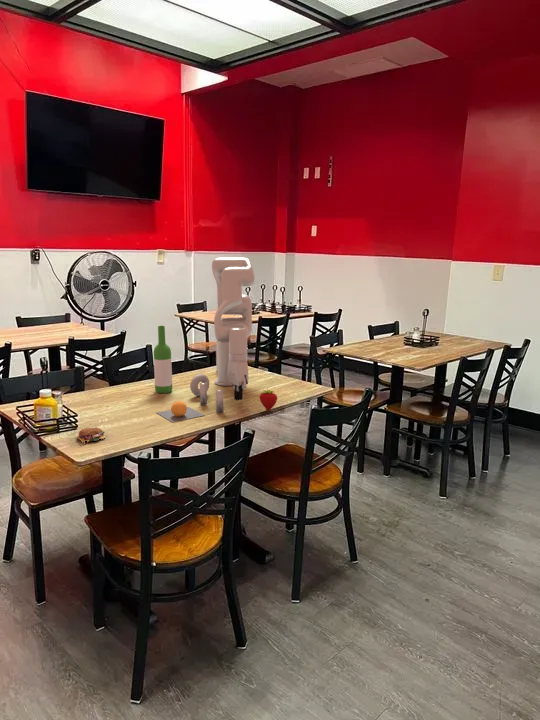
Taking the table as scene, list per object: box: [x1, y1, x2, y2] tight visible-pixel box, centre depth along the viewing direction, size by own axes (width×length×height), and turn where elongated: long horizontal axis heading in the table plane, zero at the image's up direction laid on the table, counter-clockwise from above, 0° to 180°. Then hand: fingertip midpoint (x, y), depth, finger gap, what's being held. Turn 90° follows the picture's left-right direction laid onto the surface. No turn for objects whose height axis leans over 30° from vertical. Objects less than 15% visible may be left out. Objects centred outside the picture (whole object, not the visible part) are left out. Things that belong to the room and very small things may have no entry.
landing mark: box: [156, 406, 206, 423], centre depth 210 cm, size 14×14×1 cm
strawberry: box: [259, 389, 278, 412], centre depth 214 cm, size 6×8×10 cm
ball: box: [170, 400, 188, 417], centre depth 207 cm, size 6×6×6 cm
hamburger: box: [76, 427, 106, 443], centre depth 181 cm, size 14×14×6 cm
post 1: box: [199, 382, 208, 406], centre depth 222 cm, size 3×3×9 cm
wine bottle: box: [153, 325, 173, 394], centre depth 240 cm, size 8×8×30 cm
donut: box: [189, 373, 210, 397], centre depth 235 cm, size 10×4×10 cm, turn 138°
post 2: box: [215, 389, 224, 414], centre depth 211 cm, size 3×3×9 cm
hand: (238, 399), depth 225 cm, fingers closed
